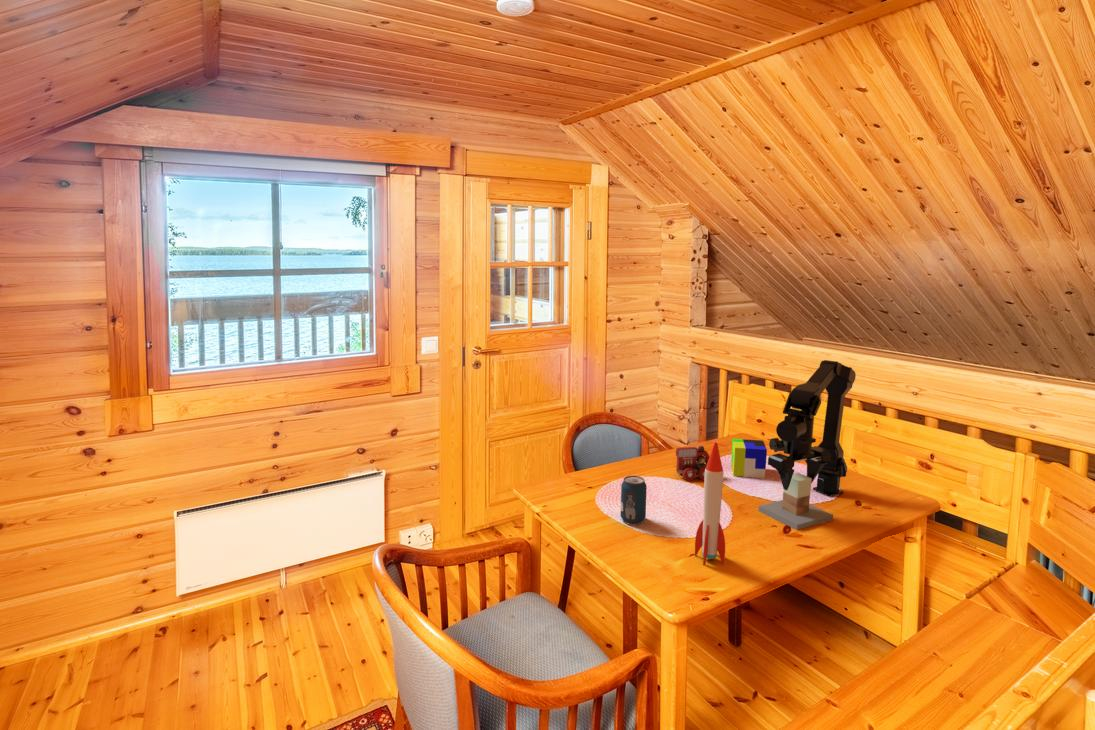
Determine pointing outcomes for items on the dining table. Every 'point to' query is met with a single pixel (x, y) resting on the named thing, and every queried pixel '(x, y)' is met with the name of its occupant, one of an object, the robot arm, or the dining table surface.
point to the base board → (793, 520)
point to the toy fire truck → (691, 462)
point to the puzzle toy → (748, 458)
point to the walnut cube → (795, 504)
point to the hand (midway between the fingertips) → (797, 486)
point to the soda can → (633, 499)
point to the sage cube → (799, 486)
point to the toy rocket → (712, 511)
